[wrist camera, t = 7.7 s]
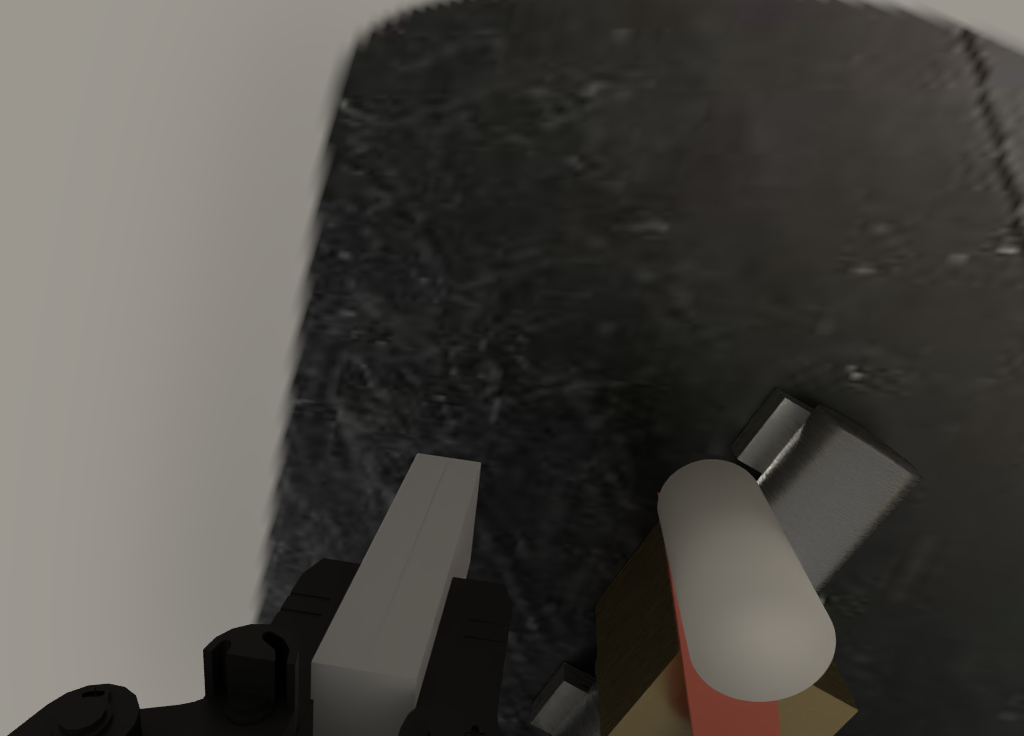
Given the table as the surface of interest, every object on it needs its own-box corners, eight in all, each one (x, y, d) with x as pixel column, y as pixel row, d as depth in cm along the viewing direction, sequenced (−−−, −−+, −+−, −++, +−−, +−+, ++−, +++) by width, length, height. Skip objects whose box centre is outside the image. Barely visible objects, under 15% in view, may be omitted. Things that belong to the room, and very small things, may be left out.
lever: (801, 812, 21) (883, 1058, 15) (685, 819, 22) (723, 1058, 16) (768, 433, 17) (862, 573, 12) (628, 452, 18) (652, 595, 12)
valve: (623, 761, 33) (639, 969, 25) (517, 705, 32) (497, 898, 24) (899, 445, 27) (1046, 581, 18) (773, 370, 26) (865, 475, 18)
